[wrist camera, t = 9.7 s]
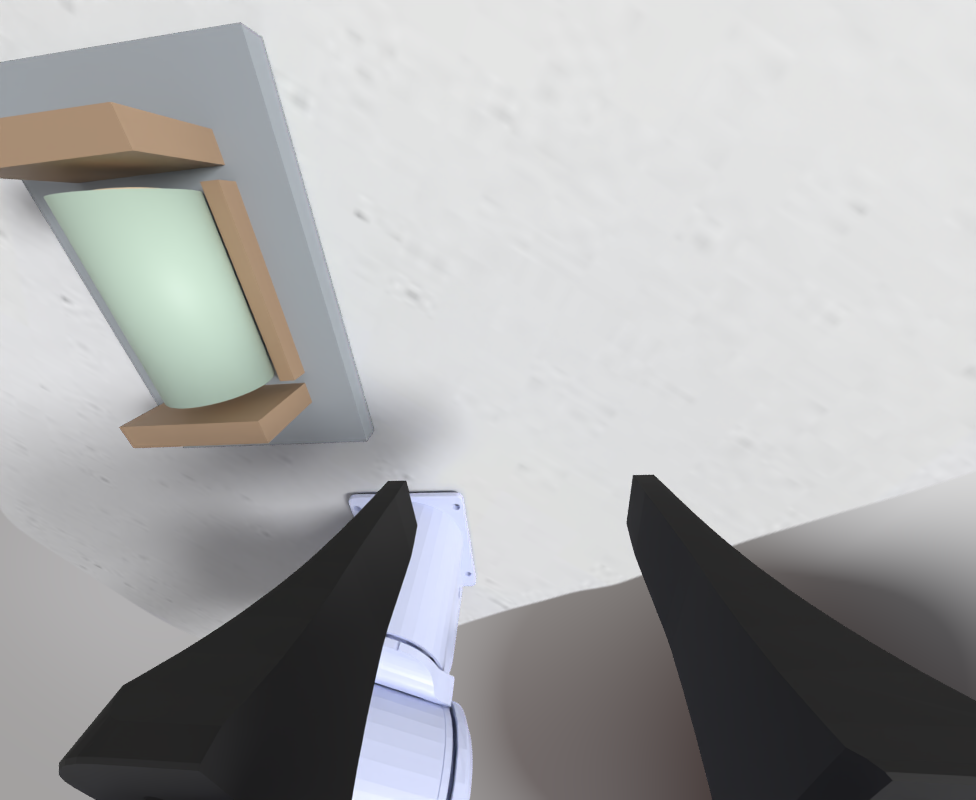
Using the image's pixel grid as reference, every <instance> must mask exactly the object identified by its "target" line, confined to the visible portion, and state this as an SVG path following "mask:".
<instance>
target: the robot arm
mask: <svg viewBox="0 0 976 800" xmlns="http://www.w3.org/2000/svg"><path fill="white" fill-rule="evenodd" d="M454 504H458V505H459V506H456V505H454ZM349 505H350V508H351V511H352V513H353V516H354V518H353V519H352V520H351V521H350V522H349V523H348V524H347V525H346V526H345V527H344V528H343V529H342V530H341V531H340V532H339V533H338V534H337V535H336V536H335V537H333V538H332V539H331V540H330V541H329V542H328V543H327V544H326V545H325V546H324V547H323V548H322V549H321V550H320V551H319V552H318V553H316V554H315V555H314V556H313V557H312V558H311V559H310V560H309V561H307V562H306V563H305V564H304V565H303V566H302V567H300V568H299V569H298V570H297V571H296V572H294V573H293V574H292V575H291V576H289V577H288V578H287V579H286V580H285V581H283V582H282V583H281V584H280V585H278V586H277V587H276V588H274V589H273V590H272V591H270V592H269V593H268V594H266V595H265V596H263V597H262V598H261V599H259V600H258V601H257V602H255V603H254V604H253V605H251V606H250V607H248V608H247V609H246V610H244V611H243V612H242V613H240V614H239V615H237V616H236V617H234V618H233V619H231V620H230V621H228V622H227V623H225V624H224V625H222V626H221V627H219V628H218V629H216V630H215V631H213V632H212V633H210V634H209V635H207V636H206V637H204V638H202V639H201V640H199V641H198V642H196V643H195V644H193V645H191V646H190V647H188V648H186V649H185V650H183V651H182V652H180V653H179V654H177V655H175V656H173V657H171V658H170V659H168V660H166V661H165V662H163V663H161V664H159V665H158V666H156V667H154V668H153V669H151V670H149V671H147V672H146V673H144V674H142V675H141V676H139V677H137V678H135V679H134V680H132V681H130V682H128V683H126V684H125V685H123V686H122V687H121V689H120V690H119V691H118V692H117V693H116V695H115V696H114V697H113V698H112V700H111V701H110V702H109V703H108V704H107V705H106V707H105V708H104V709H103V710H102V712H101V713H100V714H99V715H98V716H97V718H96V719H95V720H94V721H93V722H92V724H91V725H90V726H89V727H88V729H87V730H86V731H85V732H84V733H83V735H82V736H81V737H80V738H79V739H78V741H77V742H76V743H75V745H74V746H73V747H72V748H71V749H70V750H69V752H68V753H67V754H66V755H65V756H64V758H63V759H62V760H61V762H60V763H59V775H60V777H61V778H62V779H63V780H64V781H65V782H67V783H68V784H70V785H71V786H73V787H74V788H76V789H78V790H80V791H81V792H83V793H85V794H86V795H88V796H90V797H92V798H94V799H95V800H469V799H470V792H471V782H472V744H471V736H470V732H469V729H468V725H467V720H466V716H465V714H464V711H463V709H462V707H461V706H460V705H459V704H458V703H456V702H454V701H452V694H453V686H454V676H452V675H449V673H450V670H451V666H452V662H453V656H454V648H455V641H456V633H457V626H458V619H459V612H460V604H461V597H462V590H463V586H473V585H475V584H476V574H475V567H474V561H473V555H472V549H471V542H470V536H469V530H468V524H467V517H466V511H465V505H464V499H463V496H462V495H461V494H460V493H457V492H445V493H409V490H408V486H407V482H406V481H388V482H387V483H386V484H385V485H384V486H383V487H382V488H381V489H380V490H379V491H378V492H377V493H376V494H354V495H352V496H351V497H350V499H349ZM358 506H359V507H358ZM627 527H628V531H629V535H630V539H631V543H632V546H633V550H634V554H635V557H636V559H637V562H638V565H639V567H640V570H641V572H642V575H643V577H644V580H645V583H646V585H647V587H648V590H649V592H650V595H651V597H652V600H653V603H654V605H655V608H656V610H657V613H658V616H659V618H660V621H661V623H662V625H663V628H664V631H665V634H666V636H667V639H668V642H669V645H670V648H671V650H672V654H673V658H674V661H675V664H676V667H677V671H678V674H679V678H680V681H681V685H682V688H683V691H684V694H685V699H686V702H687V706H688V709H689V713H690V716H691V720H692V724H693V727H694V730H695V734H696V738H697V742H698V746H699V750H700V754H701V757H702V761H703V765H704V769H705V773H706V777H707V780H708V784H709V788H710V792H711V796H712V800H976V701H975V700H973V699H971V698H969V697H968V696H966V695H964V694H962V693H960V692H958V691H956V690H955V689H953V688H951V687H949V686H947V685H945V684H943V683H941V682H940V681H938V680H936V679H934V678H932V677H930V676H928V675H926V674H925V673H923V672H921V671H919V670H918V669H916V668H914V667H912V666H911V665H909V664H907V663H905V662H904V661H902V660H900V659H898V658H897V657H895V656H893V655H892V654H890V653H888V652H886V651H885V650H883V649H881V648H880V647H878V646H876V645H875V644H873V643H871V642H869V641H868V640H866V639H865V638H863V637H861V636H860V635H858V634H856V633H855V632H853V631H851V630H850V629H848V628H847V627H845V626H843V625H842V624H840V623H839V622H837V621H836V620H834V619H832V618H831V617H829V616H828V615H826V614H825V613H823V612H822V611H820V610H819V609H817V608H816V607H814V606H813V605H811V604H809V603H808V602H806V601H805V600H804V599H802V598H800V597H799V596H798V595H796V594H795V593H793V592H792V591H790V590H789V589H787V588H786V587H785V586H783V585H782V584H781V583H779V582H778V581H777V580H775V579H774V578H772V577H771V576H770V575H768V574H767V573H765V572H764V571H762V570H761V569H760V568H759V567H757V566H756V565H755V564H753V563H752V562H751V561H750V560H748V559H747V558H746V557H745V556H743V555H742V554H741V553H740V552H738V551H737V550H736V549H735V548H733V547H732V546H731V545H730V544H729V543H727V542H726V541H725V540H724V539H723V538H721V537H720V536H719V535H718V534H717V533H716V532H714V531H713V530H712V529H711V528H710V527H709V526H708V525H707V524H706V523H704V522H703V521H702V520H701V519H700V518H699V517H698V516H697V515H696V514H694V513H693V512H692V511H691V510H690V509H689V508H688V507H687V506H686V505H685V504H684V503H683V502H682V501H681V500H680V499H678V498H677V497H676V496H675V495H674V494H673V493H672V492H671V491H670V490H669V489H668V488H667V487H666V486H665V485H664V484H663V483H662V482H661V481H660V480H659V479H658V478H657V477H655V476H654V475H633V479H632V487H631V494H630V501H629V509H628V516H627Z"/></svg>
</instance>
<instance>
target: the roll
mask: <svg viewBox="0 0 976 800" xmlns="http://www.w3.org/2000/svg"><path fill="white" fill-rule="evenodd" d="M44 199H45V201H46V203H47V204H48V206H49V208H50V209H51V211H52V213H53V214H54V216H55V218H56V220H57V221H58V223H59V225H60V226H61V228H62V230H63V231H64V233H65V235H66V237H67V238H68V240H69V242H70V243H71V245H72V247H73V249H74V250H75V252H76V254H77V255H78V257H79V259H80V260H81V262H82V264H83V266H84V267H85V269H86V271H87V272H88V274H89V276H90V277H91V279H92V281H93V283H94V284H95V286H96V288H97V289H98V291H99V293H100V294H101V296H102V298H103V300H104V301H105V303H106V305H107V306H108V308H109V310H110V311H111V313H112V315H113V317H114V318H115V320H116V322H117V323H118V325H119V327H120V328H121V330H122V332H123V334H124V335H125V337H126V339H127V340H128V342H129V344H130V345H131V347H132V349H133V351H134V352H135V354H136V356H137V357H138V359H139V361H140V362H141V364H142V366H143V368H144V369H145V371H146V373H147V374H148V376H149V378H150V379H151V381H152V383H153V385H154V386H155V388H156V390H157V391H158V393H159V395H160V396H161V398H162V400H163V402H164V403H165V405H166V406H168V407H171V408H178V409H184V408H195V407H202V406H207V405H212V404H216V403H220V402H224V401H227V400H230V399H233V398H236V397H239V396H242V395H244V394H247V393H249V392H251V391H253V390H256V389H258V388H259V387H261V386H263V385H264V384H266V383H267V382H269V381H270V380H271V379H272V378H273V376H274V370H273V368H272V365H271V363H270V360H269V358H268V355H267V353H266V350H265V348H264V345H263V343H262V340H261V338H260V335H259V333H258V330H257V328H256V325H255V323H254V320H253V318H252V315H251V313H250V310H249V308H248V305H247V303H246V300H245V298H244V295H243V293H242V290H241V288H240V286H239V283H238V281H237V278H236V276H235V273H234V271H233V268H232V266H231V263H230V261H229V258H228V256H227V253H226V251H225V248H224V246H223V243H222V241H221V238H220V236H219V233H218V231H217V228H216V226H215V223H214V221H213V218H212V216H211V213H210V211H209V208H208V206H207V203H206V201H205V198H204V196H203V193H202V192H201V191H196V190H187V189H162V188H149V187H124V188H105V189H95V190H88V191H75V192H64V193H57V194H51V195H46V196H44Z"/></svg>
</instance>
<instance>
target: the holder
mask: <svg viewBox="0 0 976 800" xmlns="http://www.w3.org/2000/svg"><path fill="white" fill-rule="evenodd" d="M0 178H3V179H19V180H22V181H23V183H24V185H25V186H26V188H27V190H28V191H29V193H30V195H31V196H32V198H33V200H34V201H35V203H36V205H37V206H38V208H39V209H40V211H41V213H42V214H43V216H44V218H45V219H46V221H47V223H48V224H49V226H50V228H51V229H52V231H53V233H54V234H55V236H56V238H57V239H58V241H59V243H60V244H61V246H62V248H63V249H64V251H65V252H66V254H67V256H68V257H69V259H70V261H71V262H72V264H73V266H74V267H75V269H76V271H77V272H78V274H79V276H80V277H81V279H82V281H83V282H84V284H85V286H86V287H87V289H88V291H89V292H90V294H91V295H92V297H93V299H94V300H95V302H96V304H97V305H98V307H99V309H100V310H101V312H102V314H103V315H104V317H105V319H106V320H107V322H108V324H109V325H110V327H111V329H112V330H113V332H114V334H115V335H116V337H117V339H118V340H119V342H120V343H121V345H122V347H123V348H124V350H125V352H126V353H127V355H128V357H129V358H130V360H131V362H132V363H133V365H134V367H135V368H136V370H137V372H138V373H139V375H140V377H141V378H142V380H143V382H144V383H145V385H146V386H147V388H148V390H149V391H150V393H151V395H152V396H153V398H154V400H155V401H156V403H157V405H158V406H157V407H155V408H153V409H152V410H150V411H148V412H146V413H144V414H142V415H141V416H139V417H137V418H135V419H133V420H131V421H130V422H128V423H126V424H124V425H122V426H121V427H119V428H120V429H121V431H122V432H123V433H124V435H125V436H126V438H127V439H128V441H129V442H130V444H131V445H132V447H133V448H151V447H179V446H183V448H196V447H224V446H252V445H280V444H308V443H336V442H364V441H368V439H369V438H370V436H371V434H372V433H373V431H374V428H373V425H372V421H371V418H370V414H369V410H368V407H367V403H366V400H365V396H364V393H363V389H362V386H361V382H360V379H359V375H358V372H357V368H356V365H355V361H354V358H353V354H352V351H351V347H350V344H349V340H348V337H347V333H346V330H345V326H344V323H343V319H342V316H341V312H340V309H339V305H338V302H337V298H336V295H335V291H334V288H333V284H332V281H331V277H330V274H329V270H328V267H327V263H326V260H325V256H324V253H323V249H322V246H321V242H320V239H319V235H318V232H317V228H316V225H315V221H314V218H313V214H312V211H311V207H310V204H309V200H308V197H307V193H306V189H305V186H304V182H303V179H302V175H301V172H300V168H299V165H298V161H297V158H296V154H295V151H294V147H293V144H292V140H291V137H290V133H289V130H288V126H287V123H286V119H285V116H284V112H283V109H282V105H281V102H280V98H279V95H278V91H277V88H276V84H275V81H274V77H273V74H272V70H271V67H270V63H269V60H268V56H267V53H266V49H265V46H264V42H263V39H262V37H261V36H260V35H258V34H257V33H255V32H254V31H253V30H251V29H250V28H248V27H247V26H245V25H244V24H242V23H241V22H240V23H234V24H228V25H222V26H216V27H209V28H203V29H197V30H191V31H185V32H179V33H173V34H167V35H161V36H155V37H149V38H143V39H137V40H131V41H125V42H119V43H113V44H107V45H101V46H95V47H89V48H83V49H77V50H71V51H65V52H58V53H52V54H46V55H40V56H34V57H28V58H22V59H16V60H10V61H4V62H0ZM124 187H149V188H162V189H187V190H196V191H201V192H202V193H203V196H204V198H205V201H206V203H207V206H208V208H209V211H210V213H211V216H212V218H213V221H214V223H215V226H216V228H217V231H218V233H219V236H220V238H221V241H222V243H223V246H224V248H225V251H226V253H227V256H228V258H229V261H230V263H231V266H232V268H233V271H234V273H235V276H236V278H237V281H238V283H239V286H240V288H241V290H242V293H243V295H244V298H245V300H246V303H247V305H248V308H249V310H250V313H251V315H252V318H253V320H254V323H255V325H256V328H257V330H258V333H259V335H260V338H261V340H262V343H263V345H264V348H265V350H266V353H267V355H268V358H269V360H270V363H271V365H272V368H273V370H274V376H273V378H272V379H271V380H270V381H269V382H267V383H266V384H264V385H263V386H261V387H259V388H258V389H256V390H253V391H251V392H249V393H247V394H244V395H242V396H239V397H236V398H233V399H230V400H227V401H224V402H220V403H216V404H212V405H207V406H202V407H195V408H184V409H178V408H171V407H168V406H166V405H165V403H164V402H163V400H162V398H161V396H160V395H159V393H158V391H157V390H156V388H155V386H154V385H153V383H152V381H151V379H150V378H149V376H148V374H147V373H146V371H145V369H144V368H143V366H142V364H141V362H140V361H139V359H138V357H137V356H136V354H135V352H134V351H133V349H132V347H131V345H130V344H129V342H128V340H127V339H126V337H125V335H124V334H123V332H122V330H121V328H120V327H119V325H118V323H117V322H116V320H115V318H114V317H113V315H112V313H111V311H110V310H109V308H108V306H107V305H106V303H105V301H104V300H103V298H102V296H101V294H100V293H99V291H98V289H97V288H96V286H95V284H94V283H93V281H92V279H91V277H90V276H89V274H88V272H87V271H86V269H85V267H84V266H83V264H82V262H81V260H80V259H79V257H78V255H77V254H76V252H75V250H74V249H73V247H72V245H71V243H70V242H69V240H68V238H67V237H66V235H65V233H64V231H63V230H62V228H61V226H60V225H59V223H58V221H57V220H56V218H55V216H54V214H53V213H52V211H51V209H50V208H49V206H48V204H47V203H46V201H45V199H44V196H46V195H51V194H57V193H64V192H75V191H88V190H95V189H105V188H124Z"/></svg>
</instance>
